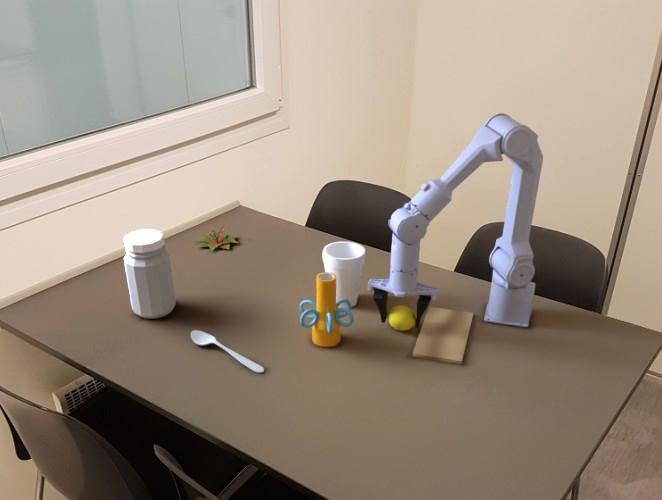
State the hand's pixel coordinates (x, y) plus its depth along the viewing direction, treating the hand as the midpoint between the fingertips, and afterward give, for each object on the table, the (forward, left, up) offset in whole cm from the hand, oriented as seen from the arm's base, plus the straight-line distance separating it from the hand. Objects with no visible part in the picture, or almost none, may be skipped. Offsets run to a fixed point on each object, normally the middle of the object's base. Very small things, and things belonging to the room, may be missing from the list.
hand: (400, 323), depth 150 cm
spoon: (+32, +20, -2) cm, 38 cm away
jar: (+55, +8, -2) cm, 56 cm away
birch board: (-10, 0, -1) cm, 10 cm away
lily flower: (+56, -29, -2) cm, 63 cm away
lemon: (0, 0, -2) cm, 2 cm away
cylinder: (+14, +9, -2) cm, 17 cm away
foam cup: (+15, -8, -2) cm, 17 cm away
